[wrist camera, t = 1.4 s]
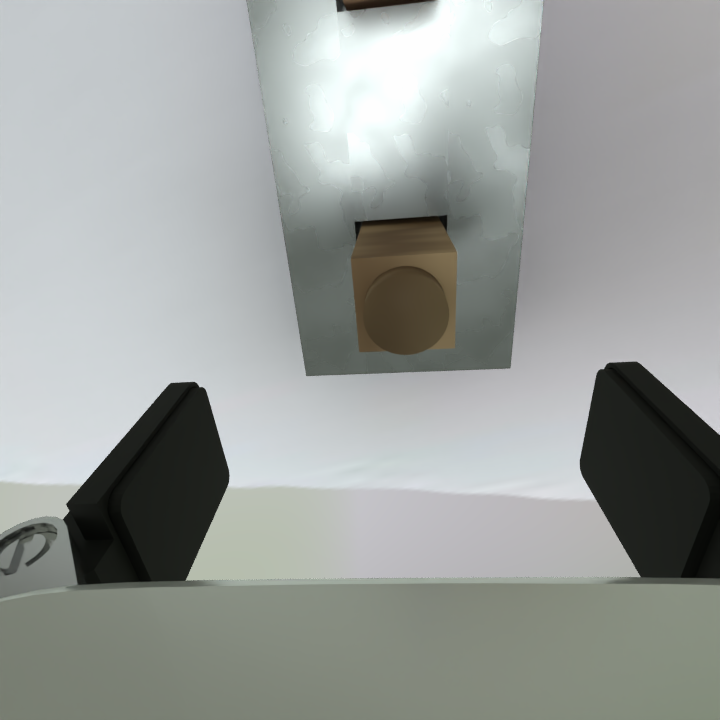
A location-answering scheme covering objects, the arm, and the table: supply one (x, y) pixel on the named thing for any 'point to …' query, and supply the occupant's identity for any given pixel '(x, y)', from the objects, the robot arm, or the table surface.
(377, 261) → the walnut plug
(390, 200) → the block
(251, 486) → the table surface
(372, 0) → the terracotta plug
